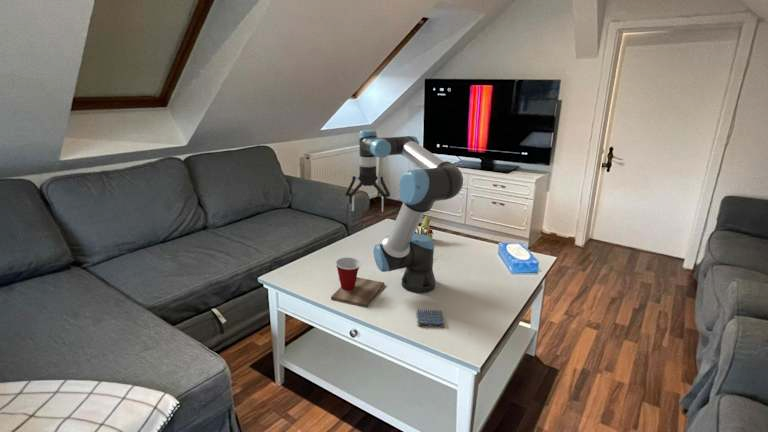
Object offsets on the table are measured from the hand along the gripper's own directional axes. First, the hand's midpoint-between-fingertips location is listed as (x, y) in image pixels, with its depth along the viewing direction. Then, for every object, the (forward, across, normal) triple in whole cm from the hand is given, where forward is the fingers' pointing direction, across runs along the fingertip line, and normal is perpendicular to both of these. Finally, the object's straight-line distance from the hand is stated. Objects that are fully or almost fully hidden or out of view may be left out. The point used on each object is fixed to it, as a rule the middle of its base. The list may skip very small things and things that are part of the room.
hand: (367, 210), depth 191 cm
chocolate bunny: (+29, -31, -33) cm, 54 cm away
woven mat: (+29, -26, +45) cm, 60 cm away
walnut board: (+29, +3, +25) cm, 38 cm away
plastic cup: (+28, +7, +23) cm, 37 cm away
